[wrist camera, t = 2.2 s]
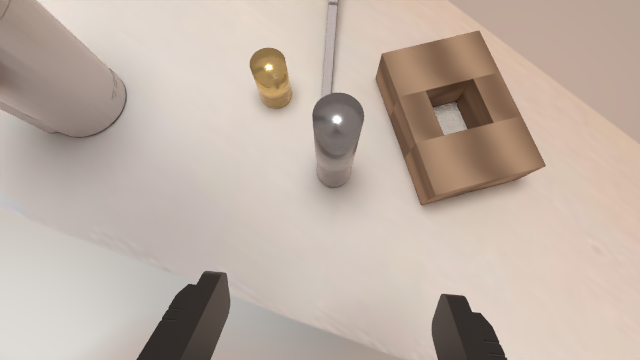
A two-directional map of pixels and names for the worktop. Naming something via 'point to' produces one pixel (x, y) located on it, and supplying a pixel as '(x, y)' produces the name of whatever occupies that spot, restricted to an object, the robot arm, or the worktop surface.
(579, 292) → the worktop surface
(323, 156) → the long pin
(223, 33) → the worktop surface
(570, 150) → the worktop surface
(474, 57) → the hole block
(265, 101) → the short pin
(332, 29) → the caliper
